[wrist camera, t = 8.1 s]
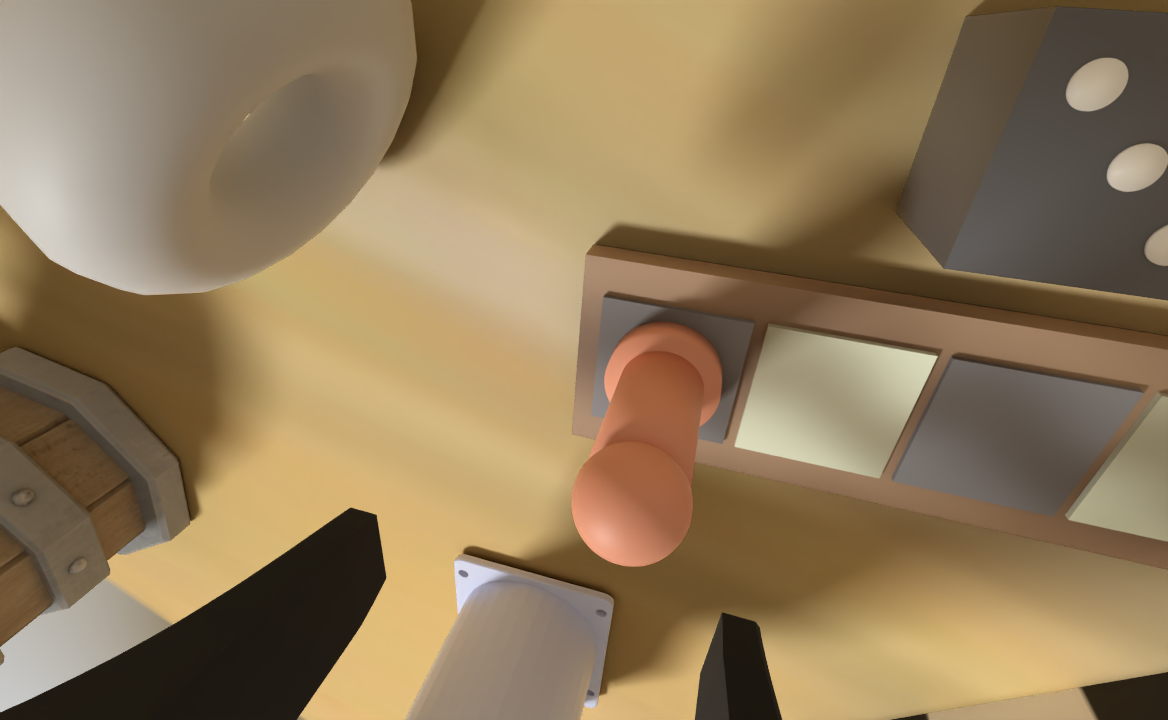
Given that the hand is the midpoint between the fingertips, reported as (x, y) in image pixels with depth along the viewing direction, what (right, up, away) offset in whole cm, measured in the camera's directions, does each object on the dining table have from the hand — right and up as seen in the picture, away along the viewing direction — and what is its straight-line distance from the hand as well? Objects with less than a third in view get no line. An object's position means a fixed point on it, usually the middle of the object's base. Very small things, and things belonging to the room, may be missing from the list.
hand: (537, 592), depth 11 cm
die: (+12, +10, +2) cm, 16 cm away
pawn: (+4, +4, +7) cm, 9 cm away
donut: (-6, +13, +6) cm, 15 cm away
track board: (+11, +3, +6) cm, 13 cm away
